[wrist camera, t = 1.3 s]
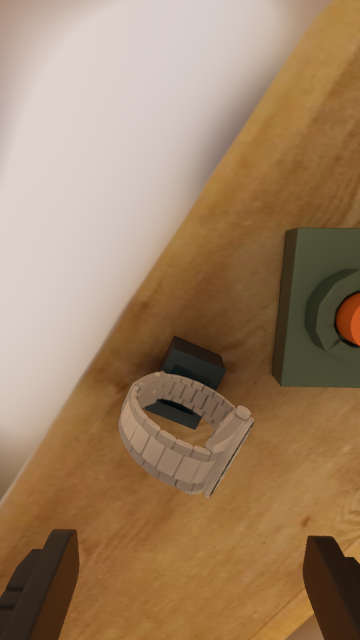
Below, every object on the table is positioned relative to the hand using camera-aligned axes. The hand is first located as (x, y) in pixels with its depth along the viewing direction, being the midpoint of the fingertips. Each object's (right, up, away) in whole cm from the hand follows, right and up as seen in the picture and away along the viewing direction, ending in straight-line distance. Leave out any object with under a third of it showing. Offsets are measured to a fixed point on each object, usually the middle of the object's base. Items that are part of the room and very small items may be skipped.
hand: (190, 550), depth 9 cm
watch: (0, +3, +14) cm, 15 cm away
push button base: (+12, +9, +13) cm, 20 cm away
